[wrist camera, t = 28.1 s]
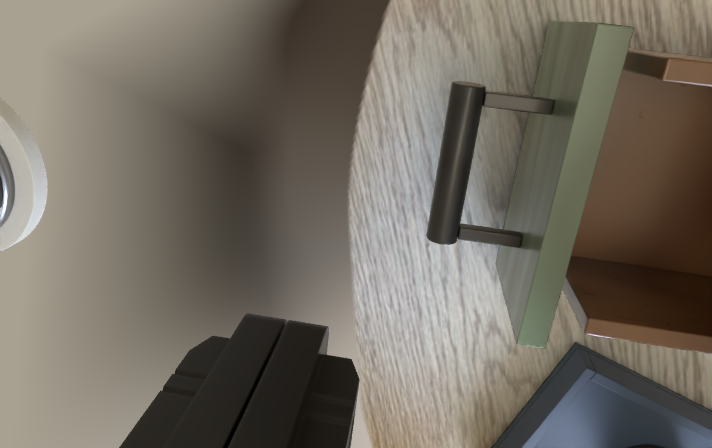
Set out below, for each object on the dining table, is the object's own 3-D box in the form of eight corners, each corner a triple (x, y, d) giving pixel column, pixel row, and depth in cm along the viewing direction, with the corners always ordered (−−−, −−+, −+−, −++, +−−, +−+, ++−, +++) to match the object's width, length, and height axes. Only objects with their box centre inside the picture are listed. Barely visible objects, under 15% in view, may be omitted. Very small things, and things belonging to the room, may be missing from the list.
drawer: (419, 252, 30) (415, 328, 23) (458, 10, 26) (469, 8, 18) (773, 305, 29) (891, 404, 21) (884, 58, 24) (1082, 76, 17)
